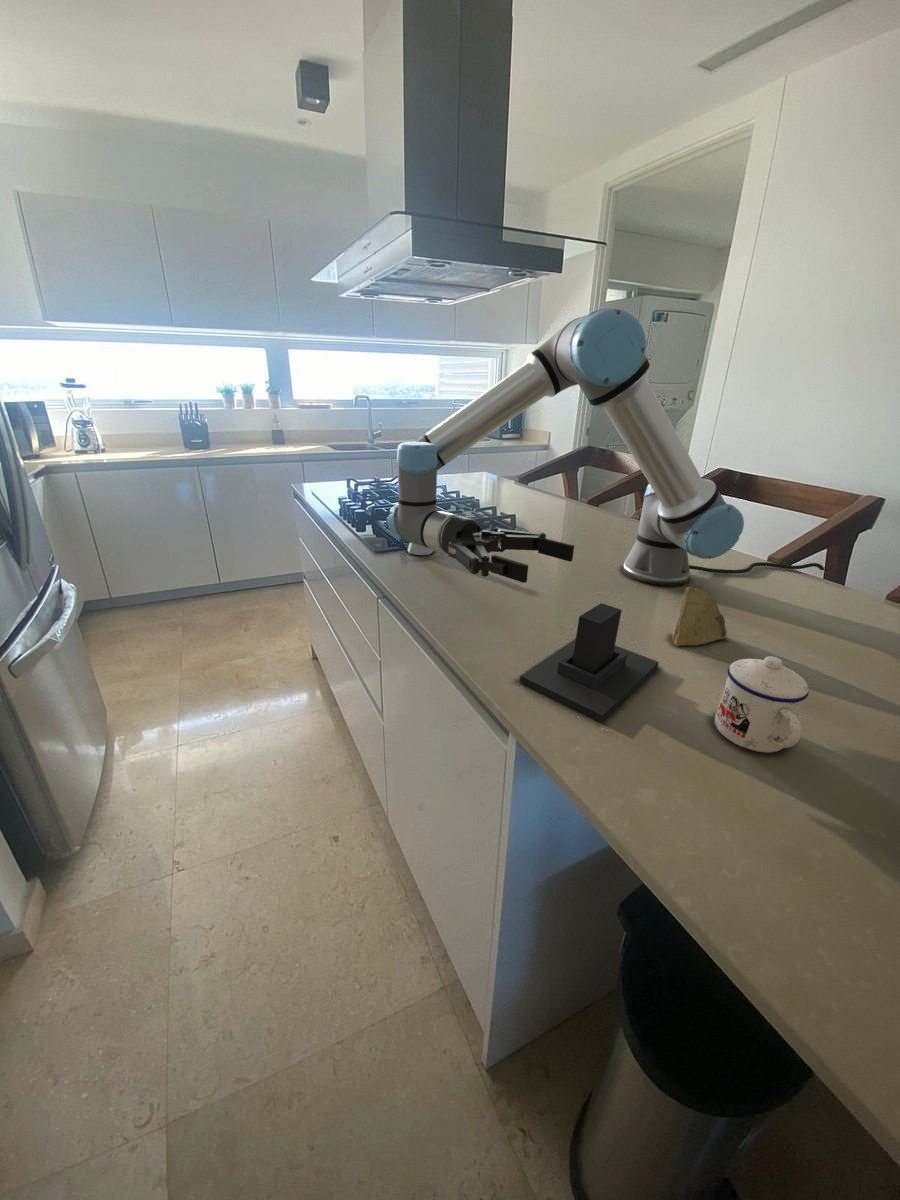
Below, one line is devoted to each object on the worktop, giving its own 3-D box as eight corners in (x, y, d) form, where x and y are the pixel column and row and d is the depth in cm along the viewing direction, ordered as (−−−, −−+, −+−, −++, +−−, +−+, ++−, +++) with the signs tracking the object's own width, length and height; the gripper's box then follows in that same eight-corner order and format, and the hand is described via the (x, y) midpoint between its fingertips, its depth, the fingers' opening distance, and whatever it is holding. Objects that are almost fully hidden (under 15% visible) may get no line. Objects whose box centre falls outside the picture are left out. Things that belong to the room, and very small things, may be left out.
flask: (435, 548, 136) (435, 513, 132) (431, 556, 129) (432, 520, 125) (409, 546, 136) (409, 511, 132) (405, 555, 130) (404, 518, 126)
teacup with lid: (700, 710, 71) (720, 641, 66) (761, 712, 71) (786, 642, 66) (746, 771, 60) (775, 693, 55) (819, 772, 60) (854, 694, 55)
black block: (591, 656, 82) (601, 602, 78) (611, 664, 80) (621, 609, 76) (570, 672, 77) (579, 616, 73) (590, 681, 75) (600, 624, 71)
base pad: (582, 639, 90) (584, 623, 89) (657, 668, 81) (661, 651, 80) (519, 682, 76) (521, 664, 75) (601, 722, 68) (604, 703, 66)
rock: (726, 618, 94) (672, 604, 96) (747, 597, 87) (688, 582, 89) (720, 668, 90) (664, 652, 92) (741, 650, 82) (680, 633, 84)
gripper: (493, 540, 101) (585, 566, 88) (404, 570, 84) (501, 607, 71) (495, 504, 98) (591, 525, 85) (403, 528, 81) (505, 559, 68)
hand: (550, 563), depth 78 cm, fingers open, 13 cm apart
